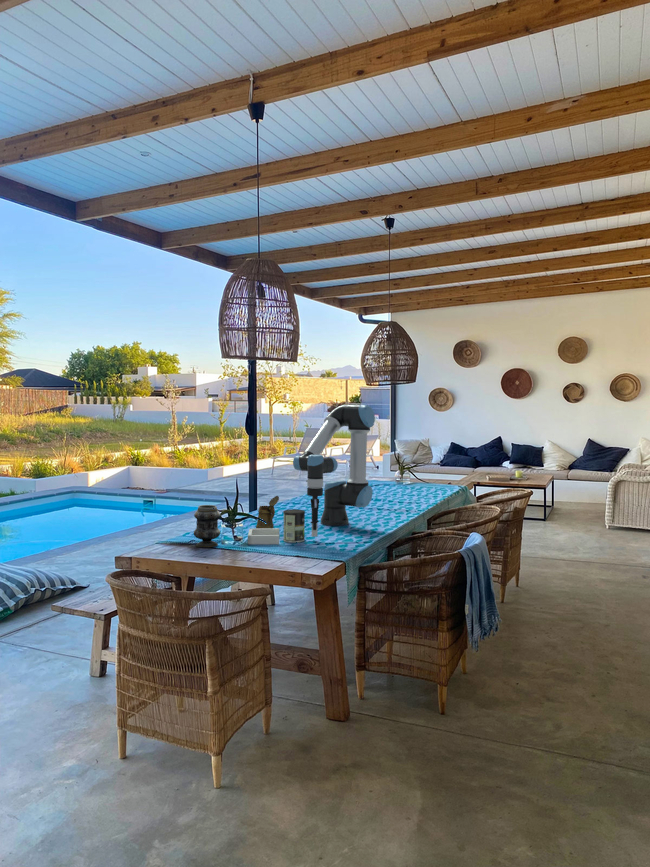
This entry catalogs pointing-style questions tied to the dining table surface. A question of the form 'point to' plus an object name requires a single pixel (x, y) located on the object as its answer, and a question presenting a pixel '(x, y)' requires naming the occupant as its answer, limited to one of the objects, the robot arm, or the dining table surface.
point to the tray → (263, 536)
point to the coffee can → (294, 525)
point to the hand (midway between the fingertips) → (314, 536)
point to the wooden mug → (267, 514)
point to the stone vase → (207, 525)
